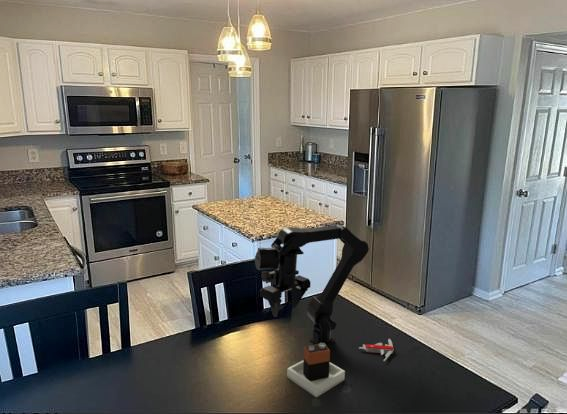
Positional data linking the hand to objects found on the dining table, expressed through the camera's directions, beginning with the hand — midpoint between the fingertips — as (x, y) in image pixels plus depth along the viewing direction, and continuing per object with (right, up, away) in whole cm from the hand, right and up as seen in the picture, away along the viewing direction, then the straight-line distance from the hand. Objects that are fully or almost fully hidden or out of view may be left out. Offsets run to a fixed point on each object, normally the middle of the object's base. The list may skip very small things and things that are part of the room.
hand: (284, 312), depth 136 cm
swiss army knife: (+31, -14, +2) cm, 34 cm away
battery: (+9, -16, -13) cm, 22 cm away
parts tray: (+9, -17, -13) cm, 23 cm away
